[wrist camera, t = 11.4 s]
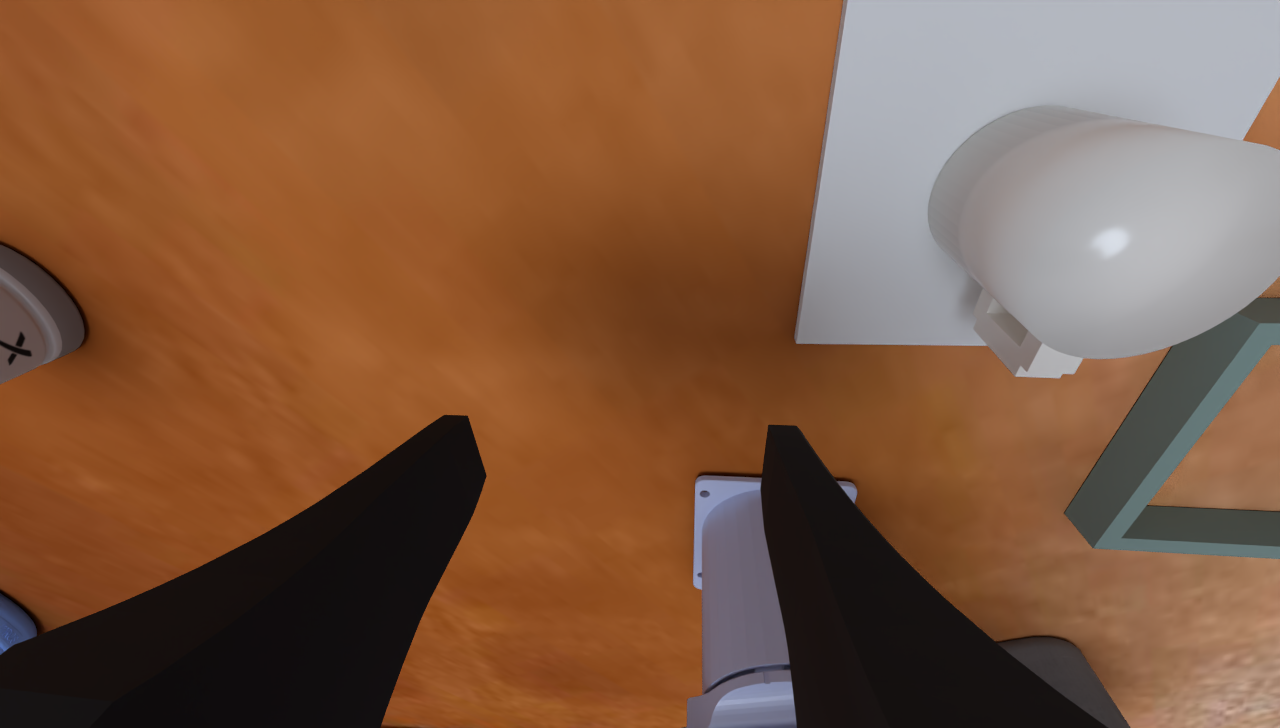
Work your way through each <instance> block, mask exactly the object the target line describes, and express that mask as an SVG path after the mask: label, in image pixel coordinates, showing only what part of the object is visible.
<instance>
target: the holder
mask: <svg viewBox="0 0 1280 728" xmlns="http://www.w3.org/2000/svg"><path fill="white" fill-rule="evenodd" d="M1271 345H1280V298H1256V299H1255V300H1253V301H1252V302H1251V303H1250V304H1248V305H1247V306H1246V307H1244V308H1243V309H1242V310H1240V311H1239V312H1237V313H1236V314H1234V315H1233V316H1231V317H1230V318H1228V319H1227V320H1225V321H1223V322H1222V323H1220V324H1218V325H1217V326H1215V327H1213V328H1211V329H1209V330H1207V331H1205V332H1203V333H1201V334H1199V335H1197V336H1195V337H1193V338H1190V339H1188V340H1186V341H1183V342H1181V343H1179V344H1176V345H1173V347H1172V348H1171V350H1170V351H1169V353H1168V354H1167V356H1166V357H1165V359H1164V360H1163V362H1162V364H1161V365H1160V367H1159V368H1158V370H1157V371H1156V373H1155V374H1154V376H1153V377H1152V379H1151V381H1150V382H1149V384H1148V385H1147V387H1146V388H1145V390H1144V391H1143V393H1142V394H1141V396H1140V397H1139V399H1138V401H1137V402H1136V404H1135V405H1134V407H1133V408H1132V410H1131V411H1130V413H1129V414H1128V416H1127V418H1126V419H1125V421H1124V422H1123V424H1122V425H1121V427H1120V428H1119V430H1118V431H1117V433H1116V434H1115V436H1114V438H1113V439H1112V441H1111V442H1110V444H1109V445H1108V447H1107V448H1106V450H1105V451H1104V453H1103V454H1102V456H1101V458H1100V459H1099V461H1098V462H1097V464H1096V465H1095V467H1094V468H1093V470H1092V471H1091V473H1090V475H1089V476H1088V478H1087V479H1086V481H1085V482H1084V484H1083V485H1082V487H1081V488H1080V490H1079V491H1078V493H1077V495H1076V496H1075V498H1074V499H1073V501H1072V502H1071V504H1070V505H1069V507H1068V508H1067V510H1066V512H1065V513H1064V514H1065V515H1066V516H1067V517H1068V519H1069V520H1070V521H1071V522H1072V523H1073V525H1074V526H1075V527H1076V528H1077V530H1078V531H1079V532H1080V533H1081V534H1082V536H1083V537H1084V538H1085V539H1086V540H1087V542H1088V543H1089V544H1090V545H1091V547H1092V548H1095V549H1113V550H1130V551H1148V552H1166V553H1183V554H1201V555H1219V556H1237V557H1254V558H1272V559H1280V512H1269V511H1248V510H1226V509H1204V508H1183V507H1161V506H1147V504H1148V503H1149V502H1150V500H1151V499H1152V498H1153V497H1154V495H1155V494H1156V493H1157V491H1158V490H1159V489H1160V488H1161V486H1162V485H1163V484H1164V482H1165V481H1166V480H1167V479H1168V477H1169V476H1170V475H1171V473H1172V472H1173V471H1174V470H1175V468H1176V467H1177V466H1178V464H1179V463H1180V462H1181V461H1182V459H1183V458H1184V457H1185V455H1186V454H1187V453H1188V452H1189V450H1190V449H1191V448H1192V446H1193V445H1194V444H1195V443H1196V441H1197V440H1198V439H1199V437H1200V436H1201V435H1202V434H1203V432H1204V431H1205V430H1206V428H1207V427H1208V426H1209V425H1210V423H1211V422H1212V421H1213V419H1214V418H1215V417H1216V416H1217V414H1218V413H1219V412H1220V410H1221V409H1222V408H1223V407H1224V405H1225V404H1226V403H1227V401H1228V400H1229V399H1230V398H1231V396H1232V395H1233V394H1234V392H1235V391H1236V390H1237V389H1238V387H1239V386H1240V385H1241V383H1242V382H1243V381H1244V380H1245V378H1246V377H1247V376H1248V375H1249V373H1250V372H1251V371H1252V369H1253V368H1254V367H1255V366H1256V364H1257V363H1258V362H1259V360H1260V359H1261V358H1262V357H1263V355H1264V354H1265V353H1266V351H1267V350H1268V349H1269V348H1270V346H1271Z"/></svg>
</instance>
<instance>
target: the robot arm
mask: <svg viewBox="0 0 1280 728" xmlns="http://www.w3.org/2000/svg"><path fill="white" fill-rule="evenodd" d="M485 479H486V473H485V469H484V466H483V463H482V460H481V457H480V454H479V450H478V447H477V444H476V441H475V438H474V434H473V431H472V428H471V425H470V422H469V418H468V416H460V415H444V416H442V417H440V418H439V419H437V420H436V421H434V422H433V423H431V424H430V425H428V426H427V427H426V428H424V429H423V430H421V431H420V432H418V433H417V434H416V435H414V436H413V437H411V438H410V439H409V440H407V441H406V442H405V443H403V444H402V445H400V446H399V447H398V448H396V449H395V450H393V451H392V452H391V453H389V454H388V455H386V456H385V457H384V458H382V459H381V460H379V461H378V462H377V463H375V464H374V465H372V466H371V467H370V468H368V469H367V470H365V471H364V472H362V473H361V474H359V475H358V476H356V477H355V478H353V479H352V480H350V481H349V482H347V483H346V484H344V485H343V486H341V487H340V488H338V489H337V490H335V491H334V492H332V493H331V494H329V495H328V496H326V497H325V498H323V499H322V500H320V501H319V502H317V503H315V504H314V505H312V506H311V507H309V508H307V509H306V510H304V511H302V512H301V513H299V514H298V515H296V516H294V517H292V518H291V519H289V520H287V521H285V522H284V523H282V524H280V525H278V526H277V527H275V528H273V529H272V530H270V531H268V532H266V533H264V534H263V535H261V536H259V537H257V538H255V539H253V540H251V541H249V542H247V543H246V544H244V545H242V546H240V547H238V548H236V549H234V550H232V551H230V552H228V553H226V554H224V555H222V556H220V557H218V558H216V559H214V560H212V561H210V562H208V563H206V564H204V565H202V566H201V567H198V568H196V569H194V570H192V571H190V572H188V573H186V574H184V575H181V576H179V577H177V578H175V579H173V580H171V581H168V582H166V583H164V584H162V585H160V586H157V587H155V588H153V589H151V590H148V591H146V592H144V593H142V594H139V595H137V596H135V597H132V598H130V599H128V600H126V601H123V602H121V603H118V604H116V605H114V606H111V607H109V608H107V609H104V610H102V611H99V612H97V613H94V614H92V615H89V616H86V617H84V618H81V619H79V620H76V621H74V622H71V623H69V624H66V625H64V626H61V627H59V628H56V629H54V630H51V631H48V632H46V633H43V634H41V635H38V636H36V637H33V638H31V639H28V640H25V641H23V642H20V643H17V644H14V645H13V646H11V647H10V648H8V649H7V650H6V651H4V652H3V653H2V654H1V655H0V728H380V727H381V724H382V721H383V718H384V715H385V712H386V709H387V706H388V704H389V701H390V698H391V695H392V693H393V690H394V687H395V684H396V682H397V679H398V676H399V674H400V671H401V668H402V665H403V663H404V660H405V658H406V655H407V653H408V650H409V648H410V645H411V642H412V640H413V637H414V635H415V632H416V630H417V627H418V625H419V622H420V620H421V618H422V615H423V613H424V611H425V609H426V607H427V605H428V602H429V600H430V598H431V596H432V594H433V592H434V590H435V589H436V587H437V585H438V583H439V581H440V579H441V577H442V575H443V573H444V571H445V569H446V567H447V565H448V563H449V561H450V559H451V557H452V555H453V553H454V551H455V549H456V548H457V546H458V544H459V542H460V540H461V538H462V536H463V534H464V532H465V530H466V528H467V526H468V524H469V522H470V519H471V517H472V515H473V513H474V510H475V508H476V505H477V502H478V500H479V497H480V494H481V491H482V488H483V485H484V482H485ZM703 491H707V492H703ZM856 496H857V489H856V486H855V485H854V484H853V483H851V482H846V481H836V480H835V479H834V477H833V476H832V475H831V473H830V472H829V471H828V469H827V468H826V467H825V465H824V464H823V462H822V461H821V460H820V458H819V457H818V455H817V454H816V453H815V451H814V450H813V448H812V447H811V445H810V444H809V442H808V441H807V439H806V438H805V436H804V435H803V433H802V432H801V430H800V429H799V428H798V427H797V426H788V425H768V432H767V439H766V447H765V455H764V463H763V471H762V478H754V477H731V476H709V475H704V476H700V477H698V478H697V479H696V481H695V521H694V570H693V584H694V586H695V587H696V588H698V589H702V695H701V696H697V697H691V698H688V699H687V727H683V728H1108V727H1107V726H1105V725H1104V724H1102V723H1101V722H1100V721H1098V720H1097V719H1095V718H1094V717H1093V716H1091V715H1090V714H1088V713H1087V712H1086V711H1084V710H1083V709H1081V708H1080V707H1079V706H1077V705H1076V704H1074V703H1073V702H1072V701H1070V700H1069V699H1068V698H1066V697H1065V696H1063V695H1062V694H1061V693H1059V692H1058V691H1057V690H1055V689H1054V688H1053V687H1052V686H1050V685H1049V684H1048V683H1046V682H1045V681H1044V680H1043V679H1041V678H1040V677H1039V676H1037V675H1036V674H1035V673H1034V672H1032V671H1031V670H1030V669H1029V668H1027V667H1026V666H1025V665H1023V664H1022V663H1021V662H1020V661H1018V660H1017V659H1016V658H1014V657H1013V656H1012V655H1011V654H1009V653H1008V652H1007V651H1006V650H1005V649H1003V648H1002V647H1001V646H1000V645H998V644H997V643H996V642H995V641H994V640H993V639H991V638H990V637H989V636H988V635H987V634H986V633H984V632H983V631H982V630H981V629H980V628H979V627H977V626H976V625H975V624H974V623H973V622H972V621H970V620H969V619H968V618H967V617H966V616H965V615H963V614H962V613H961V612H960V611H959V610H958V609H956V608H955V607H954V606H953V605H952V604H951V603H949V602H948V601H947V600H946V599H945V598H944V597H943V596H942V595H941V594H940V593H939V592H938V591H937V590H935V589H934V588H933V587H932V586H931V585H930V584H929V583H928V582H927V581H926V580H925V579H924V578H923V577H922V576H921V575H920V574H919V573H918V572H917V571H916V570H915V569H914V568H913V567H912V566H911V565H910V564H909V563H908V562H907V561H906V560H905V559H904V558H903V557H902V556H901V555H900V554H899V553H898V552H897V551H896V550H895V549H894V548H893V547H892V546H891V545H890V544H889V543H888V542H887V540H886V539H885V538H884V537H883V536H882V535H881V534H880V533H879V532H878V530H877V529H876V528H875V527H874V526H873V525H872V524H871V523H870V521H869V520H868V519H867V518H866V517H865V516H864V515H863V513H862V512H861V511H860V510H859V509H858V507H857V506H856V505H855V504H854V503H855V500H856Z"/></svg>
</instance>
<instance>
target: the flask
mask: <svg viewBox="0 0 1280 728" xmlns="http://www.w3.org/2000/svg"><path fill="white" fill-rule="evenodd" d="M997 644H998V645H1000V646H1001V647H1002V648H1003V649H1005V650H1006V651H1007V652H1008V653H1009V654H1011V655H1012V656H1013V657H1014V658H1016V659H1017V660H1018V661H1020V662H1021V663H1022V664H1023V665H1025V666H1026V667H1027V668H1029V669H1030V670H1031V671H1032V672H1034V673H1035V674H1036V675H1037V676H1039V677H1040V678H1041V679H1043V680H1044V681H1045V682H1046V683H1048V684H1049V685H1050V686H1052V687H1053V688H1054V689H1055V690H1057V691H1058V692H1059V693H1061V694H1062V695H1063V696H1065V697H1066V698H1068V699H1069V700H1070V701H1072V702H1073V703H1074V704H1076V705H1077V706H1079V707H1080V708H1081V709H1083V710H1084V711H1086V712H1087V713H1088V714H1090V715H1091V716H1093V717H1094V718H1095V719H1097V720H1098V721H1100V722H1101V723H1102V724H1104V725H1105V726H1107V727H1108V728H1130V726H1129V725H1128V723H1127V722H1126V720H1125V719H1124V717H1123V715H1122V714H1121V712H1120V711H1119V709H1118V708H1117V706H1116V705H1115V703H1114V702H1113V700H1112V699H1111V697H1110V696H1109V694H1108V693H1107V691H1106V690H1105V688H1104V686H1103V685H1102V683H1101V682H1100V680H1099V679H1098V677H1097V676H1096V674H1095V673H1094V671H1093V670H1092V668H1091V667H1090V665H1089V664H1088V662H1087V660H1086V659H1085V657H1084V656H1083V654H1082V653H1081V651H1080V650H1079V649H1078V648H1077V647H1075V646H1074V645H1072V644H1071V643H1069V642H1066V641H1064V640H1060V639H1057V638H1053V637H1030V638H1024V639H1018V640H1011V641H1006V642H1000V643H997Z"/></svg>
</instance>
